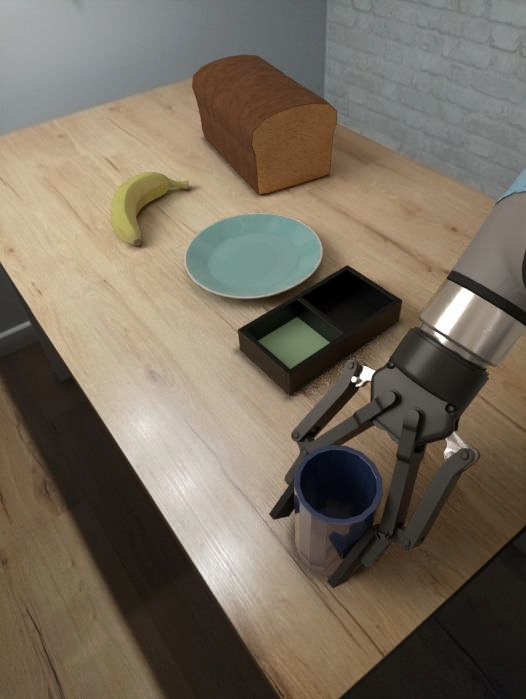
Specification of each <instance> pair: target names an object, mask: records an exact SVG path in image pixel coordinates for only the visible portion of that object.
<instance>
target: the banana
mask: <svg viewBox="0 0 526 699" xmlns="http://www.w3.org/2000/svg"><path fill="white" fill-rule="evenodd" d="M189 183H190V180H184V181H183V180H182V181H177V180H174V179H172V178H169V177H168V176H167V175H165V174H163V173H161V172H156V171H144V172H141V173H138V174H135V175H133V176H131V177H129V178H128V179H126V180H124V181H123V182H122V183H120V185H119V186H118V187H117V188H116V189H115V191H114V193H113V195H112V197H111V201H110V224H111V226H112V229H113V230H114V232H115V233H116V235H117V236H118V237H119V238H120V239H121V240H123V241H124V242H125V243H127V244H130V245H132V246H135V247H136V246H137V247H139V246H140V245H142V243H143V236H142V231H141V228H140V226H139V223H138V220H137V216H138V214H139V213H140V211H141V209H142V208H143V207H144V206H146V205H147V204H149V203H150V202H152V201H154V200H156V199H158V198H160V197H162V196H163V195H165V194H166V193H167V192H168V191H169V190H170V189H174V188H179V189H184V190H186V191H188V190H189Z"/></svg>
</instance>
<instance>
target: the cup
mask: <svg viewBox="0 0 526 699" xmlns="http://www.w3.org/2000/svg"><path fill="white" fill-rule="evenodd" d="M383 494H384V490H383V478H382V475H381V474H380V472H379V469H378V467H377V465H376V464H375V462H374V461H372V459H370V458H369V456H367V455H366V454H365V453H363V452H362V451H360V450H358V449H355V448H354V447H351V446H348V445H341V446H340V445H328V446H325V447H321V448H318V449H315V450H313V451H312V452H311V453H309V454H308V455H307V456H306V457H304V458H303V459H302V461H301V463H300V464H299V466H298V468H297V470H296V472H295V482H294V543H295V546H296V551H297V553H298V556H299V557H300V559H301V561H302V562H303V563H304V564H305V566H306V567H308V568H309V569H310V570H312V571H313V572H315V573H316V574H318V575H321V576H324V577H329V578H330V577H331V576H332V574H333V573H334V572H335V570H336V569H337V568H338V566H339V565H340V564H341V563H342V561H343V560H344V559H345V557H346V556H347V555H348V553H349V552H350V551H351V549H352V548H353V547H354V545H355V544H356V543H357V541H358V540H359V539H360V538H361V536H362V535H363V534H364V532H365V531H366V530H367V528H368V527H370V526H373V525H376V524H377V519H378V514H379V510H380V507H381V503H382V500H383ZM362 565H363V564H362V563H361V564H360V565H359V567H358V568H357V569H356V570H358V569H359V568H360V567H361V566H362Z"/></svg>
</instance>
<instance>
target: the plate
mask: <svg viewBox="0 0 526 699" xmlns="http://www.w3.org/2000/svg"><path fill="white" fill-rule="evenodd" d="M323 257H324V247H323V244H322V241H321V238H320V237H319V236H318V234H317V233H316V231H315V230H313V228H312V227H310V226H309V225H308V224H306V223H304V222H302V221H301V220H298V219H297V218H293V217H290V216H288V215H285V214H284V215H283V214H279V213H271V212H248V213H241V214H235V215H231V216H227V217H224V218H221V219H219V220H217V221H214V222H212V223H210V224H209V225H207V226H205V227H204V228H203V229H201V230H200V231H199V232H197V233H196V235H195V236H193V238H192V239H191V240H190V242H189V243H188V244H187V246H186V249H185V251H184V254H183V264H184V269H185V271H186V273H187V276H189V278H190V279H191V280H192V281H193V282H194V283H195V284H196V285H197V286H198V287H200V288H201V289H203V290H205V291H207V292H209V293H211V294H214V295H216V296H220V297H223V298H228V299H234V300H235V299H236V300H259V299H264V298H269V297H273V296H276V295H279V294H283V293H285V292H288V291H290V290H292V289H295V288H296V287H297V286H299V285H301V284H302V283H304V282H305V281H307V280H308V279H309V278H311V276H312V275H313V274H315V273H316V271H317V269H318V268H319V267H320V265H321V263H322V260H323Z"/></svg>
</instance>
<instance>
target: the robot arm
mask: <svg viewBox="0 0 526 699" xmlns="http://www.w3.org/2000/svg"><path fill="white" fill-rule="evenodd" d="M418 318H419V322H421V324H420V326H416V325H414V326H413V327H410V328H409V330H408V331H407V332H406V333H405V334H404V337H403V338H402V339H401V341H400V342H399V344H398V345H397V346H396V348H395V349H394V350H393V352H392V353H391V354H390V357H389V358H388V361H387V362H386V363H385V364H384V365H383V366H381V367H379V368H377V369H374V368H372V367H370V366H368V364H367V363H366V362H363V361H359V360H357V359H352V358H351V359H348V360H346V362H345V364H344V366H343V368H342V371H341V373H340V375H339V378H338V380H337V381H336V382H335V383H334V384H333V385H332V386H331V387H330V388H329V390H328V391H327V392H326V393H325V394H324V395H323V396H322V398H320V399H319V400H318V402H317V403H316V404H315V405H314V406H313V407H312V408H311V410H310V411H309V412H308V413H307V414H306V415H305V416H304V417H303V419H302V420H301V421H300V422H299V423H298V424H297V425H296V426H295V427H294V429H293V430H291V433H290V437H291V440H292V441H293V442H296V444H297V446H298V449H299V454H298V456H297V457H296V459H295V461H294V462H293V463H292V465H291V467H290V468H289V469H288V471H287V472H286V474H285V476H284V482H285V483H286V484H287V485H288V486H286V488H285V490H284V492H282V494H281V496H280V497H279V499H278V500H277V502H276V503H275V504H274V506H273V507H272V509H271V510H270V512H269V513H268V515H269V517H270V518H271V519H272V520H273V521H275V520H279V519H285V518H288V517H290V516H291V515H292V514H293V512H294V511H295V509H294V482H295V472H296V470H297V468H298V466H299V464H300V463H301V461H302V459H303V458H304V457H306V456H307V455H308V454H309V453H311V452H312V451H313V450H315V449H318V448H321V447H325V446H328V445H340V446H344V445H345V444H346V443H348V442H349V441H351V440H353V439H354V438H356V437H357V436H360V435H361V434H362V433H363V432H366V431H367V430H369V429H370V428H372V427H376V428H378V429H380V430H382V431H384V432H386V434H387V435H388V436H389V437H390V439H391V440H392V441H393V442H394V443H395V444H396V445H397V448H396V454H395V458H396V462H395V466H394V469H393V473H392V476H391V481H390V484H389V489H388V492H387V496H386V500H385V504H384V508H383V512H382V516H381V520H380V522H378V523H375V525H373V526H370V527H368V528H367V530H366V531H365V532H364V534H363V535H362V536H361V538H360V539H359V540H358V541H357V543H356V544H355V545H354V547H353V548H352V549H351V551H350V552H349V553H348V555H347V556H346V557H345V559H344V560H343V561H342V563H341V564H340V565H339V566H338V568H337V569H336V570H335V572H334V573H333V574H332V576H331V577H329V578H328V579H327V581H326V583H328V585H329V586H330V587H331V588H332V589H335V588H338V587H339V586H341V585H343V584H345V583H347V582H348V581H349V580H350V578H351V577H352V576H353V575H354V573H355V572H356V571H357V570H358V569H359V568H360V567H359V565H360V564H361V563H362V564H361V565H363V566H364V567H365V568H369V567H370V566H372V565H375V564H377V563H379V561H380V560H381V558H382V557H383V556H384V555H385V553H386V552H387V551H388V549H389V548H390V547H391V546H392V544H397V545H399V546H400V547H401V548H402V549H403V550H405V551H411V550H413V549H415V548H417V547H420V546H422V544H424V542H425V541H426V539H427V537H428V535H429V533H430V531H431V530H432V528H433V526H434V525H435V523H436V521H437V519H438V517H439V515H440V514H441V512H442V510H443V509H444V507H445V505H446V503H447V502H448V500H449V498H450V497H451V495H452V493H453V491H454V489H455V487H456V485H457V484H458V482H459V480H460V478H461V476H462V475H463V473H465V472H466V471H468V469H470V468H471V467H473V465H475V464H476V463H478V461H479V460H481V456H482V455H481V452H480V450H479V449H478V448H476V447H473V446H471V445H470V444H469V443H468V442H467V441H466V440H465V438H463V436H462V435H461V434H460V433H459V432H458V430H459V424H460V419H461V417H462V415H463V414H464V412H465V411H466V410H468V408H469V406H470V405H471V403H472V402H473V401H474V400H475V398H476V397H477V395H478V394H479V393H480V392H481V390H482V389H483V388H484V386H485V385H486V384H487V382H488V381H489V380H490V378H489V376H490V373H489V372H488V371H487V370H488V368H489V367H492V368H498V367H500V365H501V364H502V363H503V362H504V360H505V359H506V357H507V356H508V355H509V354H510V353H511V351H512V350H513V348H514V347H515V346H516V344H518V342H519V341H520V340H521V338H522V337H523V335H524V334H525V333H526V167H525V168H523V170H522V171H521V172H520V174H518V176H517V177H516V179H515V180H514V181H513V182H512V184H511V185H510V187H509V188H508V189H507V191H506V192H505V193H504V194H503V195H502V196H500V197H499V198H498V200H496V201H495V203H494V204H493V207H492V209H491V211H490V212H489V213H488V215H487V217H486V218H485V219H484V221H483V222H482V224H481V225H480V227H479V228H478V230H477V231H476V233H475V234H474V236H473V237H472V239H471V240H470V242H469V243H468V245H467V246H466V248H465V249H464V250H463V252H462V254H461V255H460V256H459V258H458V259H457V261H456V262H455V264H454V265H453V267H452V268H451V270H450V272H449V274H448V275H447V276H446V278H445V279H444V280H443V281H442V283H441V284H440V285H439V287H438V288H437V289H436V291H435V293H433V295H432V296H431V298H430V299H429V300H428V302H427V303H426V305H425V306H424V307H423V309H422V310H421V312H419V314H418ZM368 383H370V395H369V396H370V397H369V400H370V401H369V402H368V403H366V404H365V405H363V406H362V407H360V408H359V409H356V411H354V413H353V414H352V415H350V416H349V417H348V418H346V419H345V420H343V421H341V422H339V423H338V424H336V425H335V426H334V427H332V428H330V429H329V430H327V431H326V432H324V433H323V434H321V435H320V436H318V435H319V434H320V433H321V432H322V431H323V430H324V429H325V428H326V426H327V425H328V424H329V423H330V422H331V421H332V420H333V419H334V418H335V417H336V416H337V415H338V414H339V412H340V411H341V410H342V409H343V408H344V407H345V406H346V405H347V404H348V403H349V401H350V400H351V399H352V398H353V397H354V396H355V395H356V394H357V392H359V391H360V389H361V388H365V387H366V386H367V385H368ZM317 436H318V437H317ZM444 440H445V442H446V448H445V449H444V451H443V453H442V454H443V455H442V456H443V459H444V460H445V461H444V462H443V463H442V464H441V465H440V467H439V468H438V469H437V471H436V473H435V475H434V476H433V479H432V480H431V482H430V484H429V486H428V488H427V489H426V491H425V493H424V494H423V496H422V498H421V500H420V502H419V504H418V505H417V508H416V509H415V511H414V513H413V515H412V516H411V518H410V520H409V522H408V524H407V526H405V524H406V520H407V516H408V512H409V509H410V505H411V502H412V501H411V500H412V497H413V493H414V490H415V485H416V482H417V478H418V473H419V471H420V467H421V463H422V461H423V460H424V458H425V455H426V454H425V453H426V451H427V447H428V444H432V443H436V442H441V441H444ZM361 565H360V566H361ZM358 567H359V568H358ZM357 568H358V569H357Z"/></svg>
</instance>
